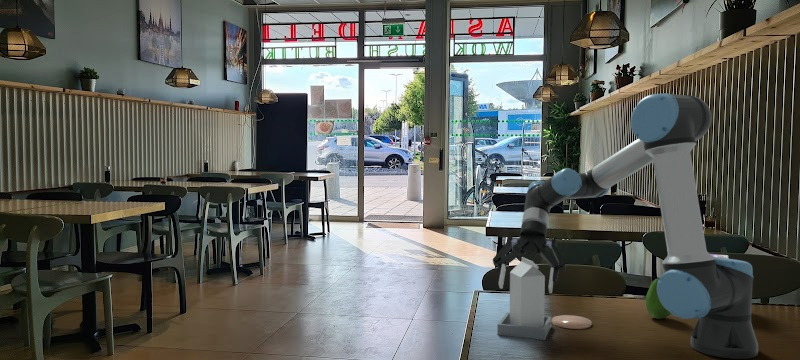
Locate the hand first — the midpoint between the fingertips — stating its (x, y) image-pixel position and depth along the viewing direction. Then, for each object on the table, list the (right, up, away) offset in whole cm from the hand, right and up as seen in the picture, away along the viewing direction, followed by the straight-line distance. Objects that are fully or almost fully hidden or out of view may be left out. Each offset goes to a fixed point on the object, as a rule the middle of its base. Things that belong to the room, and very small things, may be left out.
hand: (524, 288), depth 174 cm
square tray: (0, -12, +1) cm, 12 cm away
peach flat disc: (+15, -11, +8) cm, 20 cm away
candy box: (+64, -11, +22) cm, 68 cm away
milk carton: (+1, -11, +1) cm, 11 cm away
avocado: (+42, -11, +12) cm, 45 cm away
